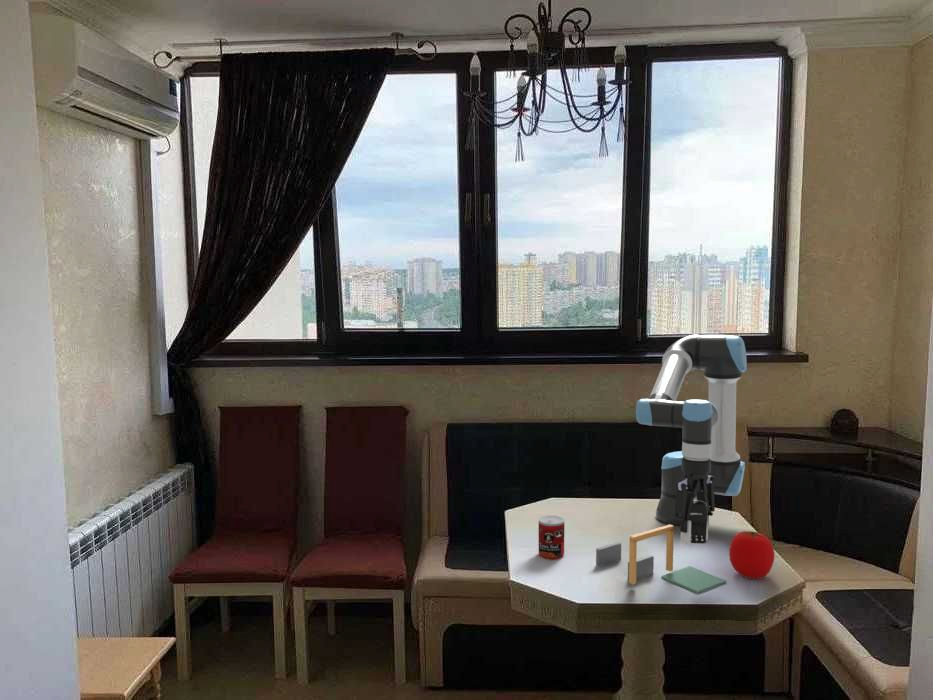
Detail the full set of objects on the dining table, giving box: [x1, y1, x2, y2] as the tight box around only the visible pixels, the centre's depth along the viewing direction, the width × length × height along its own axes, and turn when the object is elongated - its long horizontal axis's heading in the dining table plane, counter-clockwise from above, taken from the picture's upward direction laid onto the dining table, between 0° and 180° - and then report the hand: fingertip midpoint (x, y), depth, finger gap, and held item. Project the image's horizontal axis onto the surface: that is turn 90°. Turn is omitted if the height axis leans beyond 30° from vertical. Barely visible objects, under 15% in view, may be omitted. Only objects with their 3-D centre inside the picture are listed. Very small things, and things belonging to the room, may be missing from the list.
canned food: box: [538, 515, 565, 561], centre depth 207 cm, size 8×8×11 cm
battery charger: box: [680, 499, 708, 545], centre depth 187 cm, size 7×4×11 cm, turn 77°
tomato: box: [728, 530, 775, 580], centre depth 191 cm, size 12×12×13 cm
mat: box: [661, 565, 727, 594], centre depth 189 cm, size 12×12×1 cm
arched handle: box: [628, 524, 675, 585], centre depth 188 cm, size 16×1×13 cm, turn 124°
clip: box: [595, 541, 655, 581], centre depth 196 cm, size 9×13×5 cm
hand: (694, 540), depth 188 cm, fingers closed on battery charger, 6 cm apart
